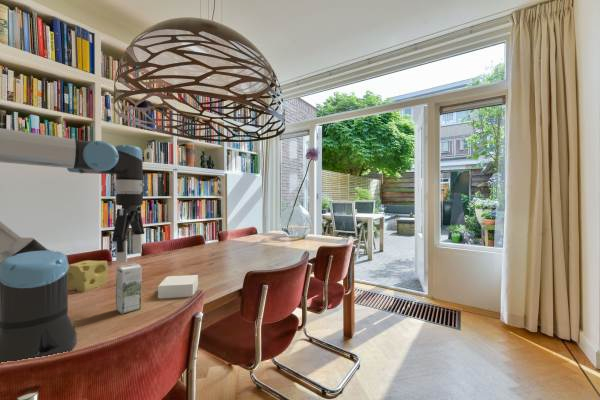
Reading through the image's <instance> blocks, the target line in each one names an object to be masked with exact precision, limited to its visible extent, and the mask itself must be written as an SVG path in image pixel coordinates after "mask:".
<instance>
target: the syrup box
mask: <svg viewBox="0 0 600 400" xmlns="http://www.w3.org/2000/svg"><path fill="white" fill-rule="evenodd" d="M115 269H116V270H115V271H116V275H115V278H116V280H115V281H116V283H115V287H116V288H115V291H116V292H115V296H116V297H115V309H116V311H118V312H119V313H120V314H122V315H124V314H126V313H127V314H128V313H131V312H134V311H137V310H140V309H142V281H143V280H142V275H143V273H142V272H143V271H142V270H143V267H142V266H141V265H140V264H138V263H130V264H124V265H118V266H116V267H115Z"/></svg>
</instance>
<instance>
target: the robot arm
mask: <svg viewBox="0 0 600 400" xmlns="http://www.w3.org/2000/svg"><path fill="white" fill-rule="evenodd" d="M0 163H5V164H17V165H27V166H28V165H30V166H42V167H52V168H62V169H63V168H64V169H66V170H67V171H68V172H69V173H78V174H98V175H115V192H116V193H117V194H116V195H115V205H116V206H121V208H117V209H116V219H115V223H114V228H113V233H112V238H111V239H112V240H111V242H112V243H115V249H116V250H115V262H116V264H120V263H122V264H123V263H127V262H128V241H127V240H126V239H127V237H128V233H129V229H130V227H131V230H132V233H133V234H132V235H131V236H132V241H131V242H132V244H131V245H132V254H142V253H143V250H142V246H143V244H142V243H143V242H142V241H143V240H142V239H143V237H142V235H145V230H144V229H145V228H144V223H143V219H142V218H143V217H142V213H141V211H142V210H141V209H142V208H141V206H142V205H144V204H143V202H144V199H143V198H144V197H143V196H144V195H143V194H142V193H143V189H144V188H143V187H144V186H145V183H143V168H144V167H143V164H144V161H143V150H142V149H141V148H140V147H139V146H136V145H130V144H117V145H116V146H114V145H113V144H112V143H109V142H107V141H105V140H93V141H88V140H82V139H75V138H68V137H60V136H54V135H49V134H42V133H35V132H28V131H21V130H14V129H9V128H1V127H0ZM69 265H70V264H69V260H68V257H67V255H66V254H65V253H63V252H60V251H54V250H50V249H48V248H47V247H45V246H44V245H43V244H41V243H40V242H39V241H38V240H36V239H35V238H34V237H21V236H20V235H18V234H17V233H16V232H15V231H14V230H12V229H10V228H9V227H8V226H7V225H6V224H4V223H3V222H2V221H0V363H1V362H7V361H17V360H22V359H28V358H35V357H42V356H48V355H53V354H57V353H63V352H67V351H69V352H71V351H72V350H73V349H74V348H75V347H76V346H77V343H78V339H77V337H78V333H77V331H76V329H75V327H74V324H73V322H72V320H71V318H70V315H69V311H68V309H69V308H68V306H69V302H68V301H69V300H68V299H69V298H68V297H69V296H68V293H69V290H68V269H69Z"/></svg>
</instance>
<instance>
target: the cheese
mask: <svg viewBox="0 0 600 400" xmlns="http://www.w3.org/2000/svg"><path fill="white" fill-rule="evenodd" d="M108 263H109V262H108V261H107V260H90V259H89V260H82V261H78V262H74V263H70V264H69V269H68V291H77V292H82V293H85V292H88V291H91V290H93V289H97V288H99V287H102V286H106V284H107V280H108V274H109V265H108Z"/></svg>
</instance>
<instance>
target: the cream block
mask: <svg viewBox="0 0 600 400" xmlns="http://www.w3.org/2000/svg"><path fill="white" fill-rule="evenodd" d="M198 287H199V274H194V275H193V274H191V275H190V274H189V275H187V274H186V275H171V276H166V277H164V279H163V280H162V281H161V282H160V283H159V285H158V286H157V299H173V298H174V299H175V298H189V297H190V298H191V296H192V295H193V294H194V295H195V293H196V291H197V289H198ZM194 295H193V296H194Z"/></svg>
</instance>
